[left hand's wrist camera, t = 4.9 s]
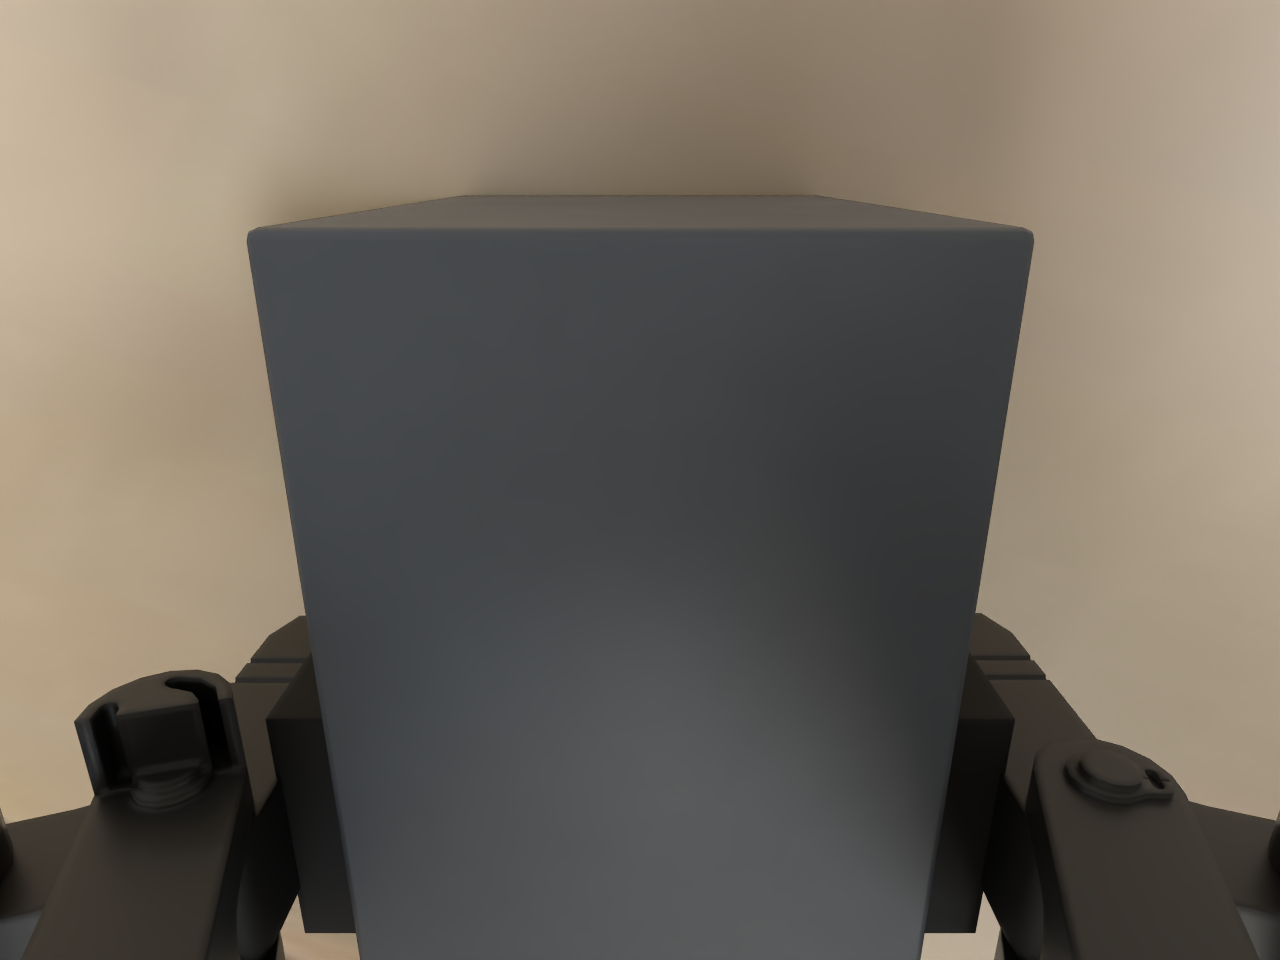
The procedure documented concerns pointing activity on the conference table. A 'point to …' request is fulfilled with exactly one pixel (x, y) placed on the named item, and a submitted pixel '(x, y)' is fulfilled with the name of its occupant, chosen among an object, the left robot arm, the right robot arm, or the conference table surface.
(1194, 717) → the conference table surface
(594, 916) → the post
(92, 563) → the conference table surface
